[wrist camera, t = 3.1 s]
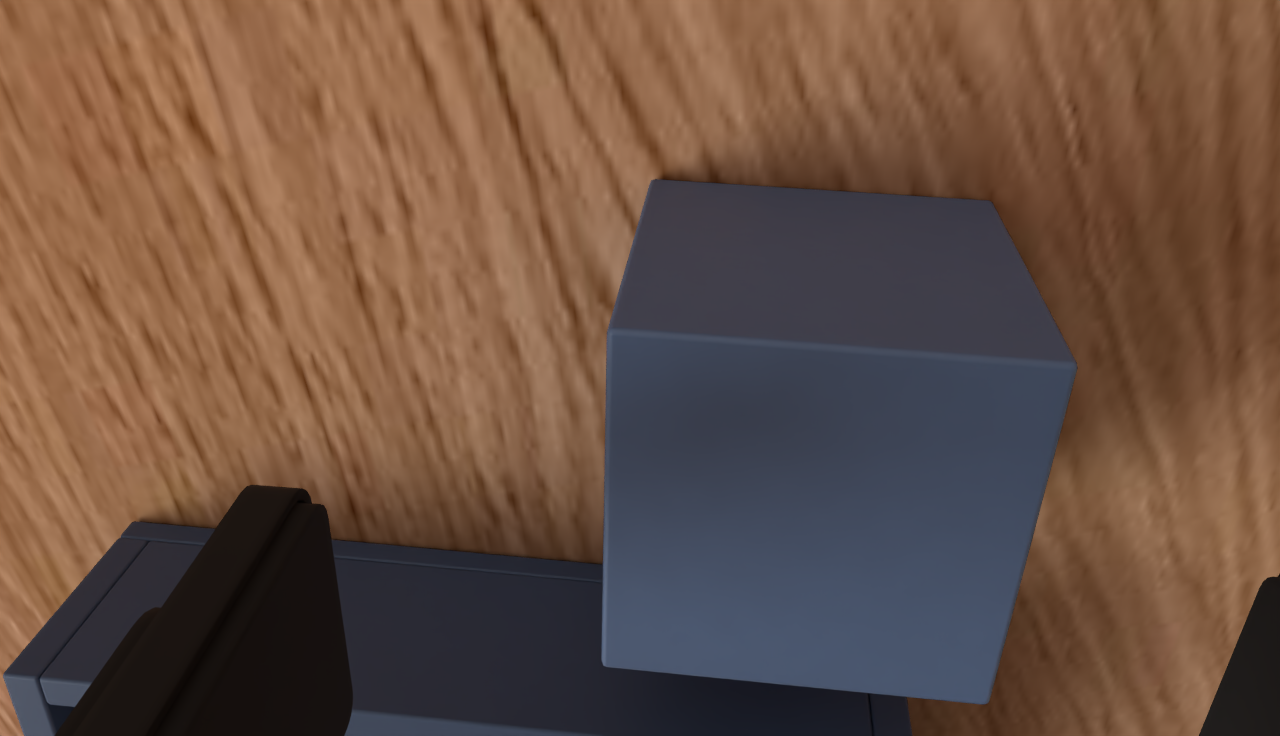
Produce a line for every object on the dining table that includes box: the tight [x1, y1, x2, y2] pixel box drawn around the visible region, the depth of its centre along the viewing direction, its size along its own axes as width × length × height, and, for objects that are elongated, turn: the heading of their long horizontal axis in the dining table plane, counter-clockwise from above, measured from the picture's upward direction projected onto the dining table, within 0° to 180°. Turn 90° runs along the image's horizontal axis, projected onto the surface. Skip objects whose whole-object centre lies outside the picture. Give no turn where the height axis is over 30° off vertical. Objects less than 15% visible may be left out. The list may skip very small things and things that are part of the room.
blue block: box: [601, 179, 1077, 704], centre depth 15 cm, size 5×5×5 cm
